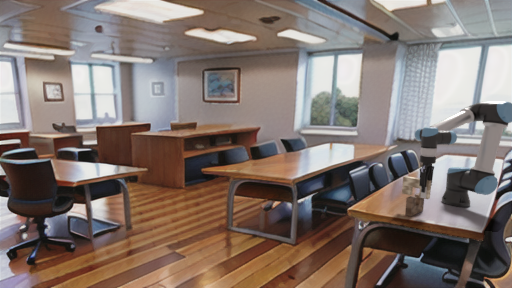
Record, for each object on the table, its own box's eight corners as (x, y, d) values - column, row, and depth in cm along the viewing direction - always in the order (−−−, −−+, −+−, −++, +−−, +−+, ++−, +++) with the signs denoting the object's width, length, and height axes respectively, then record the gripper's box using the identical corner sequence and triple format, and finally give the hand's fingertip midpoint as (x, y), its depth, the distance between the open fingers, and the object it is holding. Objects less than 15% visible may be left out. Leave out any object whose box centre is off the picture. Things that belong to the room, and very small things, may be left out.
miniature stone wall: (417, 209, 178) (419, 192, 176) (423, 210, 175) (424, 194, 174) (405, 215, 168) (406, 197, 166) (410, 216, 165) (412, 199, 164)
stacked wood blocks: (401, 193, 175) (403, 176, 174) (404, 192, 177) (405, 175, 175) (427, 199, 164) (429, 181, 163) (429, 198, 166) (431, 180, 165)
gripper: (426, 153, 172) (423, 193, 175) (414, 156, 162) (411, 198, 164) (441, 155, 166) (437, 196, 169) (429, 158, 156) (425, 201, 159)
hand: (424, 197), depth 167 cm, fingers closed on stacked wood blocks, 3 cm apart
